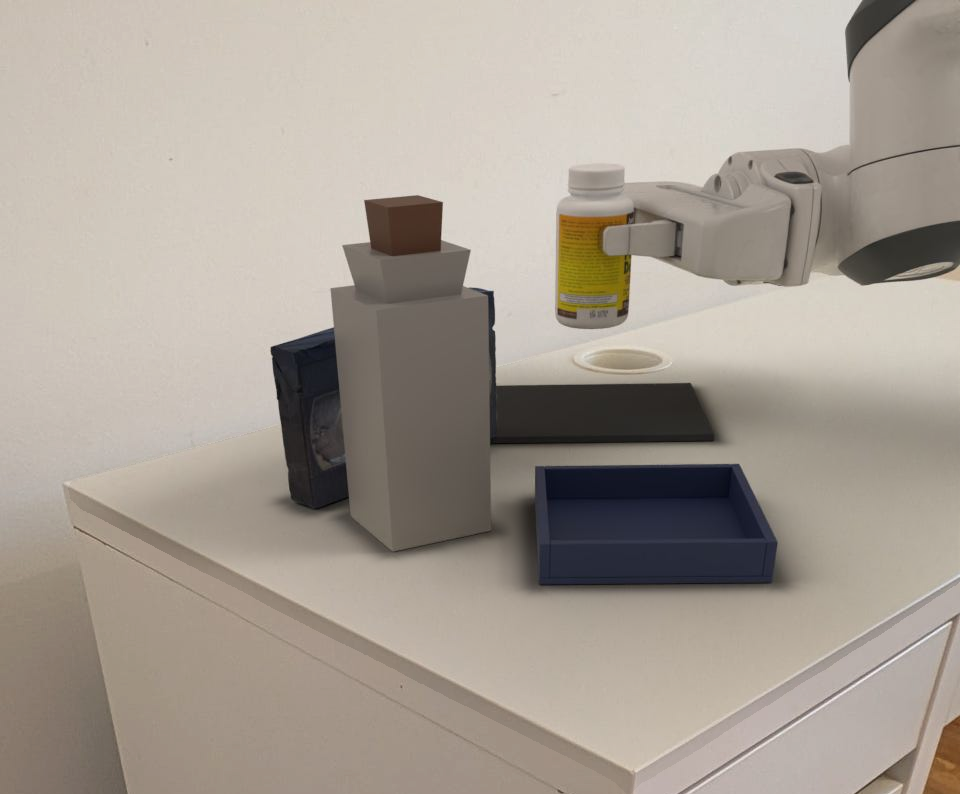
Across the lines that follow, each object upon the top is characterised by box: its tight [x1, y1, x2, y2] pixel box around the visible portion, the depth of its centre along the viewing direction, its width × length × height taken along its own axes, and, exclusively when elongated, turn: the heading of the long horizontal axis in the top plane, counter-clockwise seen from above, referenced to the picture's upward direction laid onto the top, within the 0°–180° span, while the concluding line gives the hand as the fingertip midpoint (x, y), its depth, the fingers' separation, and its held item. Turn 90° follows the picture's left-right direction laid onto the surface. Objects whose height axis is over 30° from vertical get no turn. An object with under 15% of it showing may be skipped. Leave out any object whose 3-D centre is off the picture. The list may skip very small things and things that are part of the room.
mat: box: [490, 382, 716, 444], centre depth 90 cm, size 18×14×1 cm
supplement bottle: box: [554, 162, 634, 330], centre depth 83 cm, size 6×6×10 cm
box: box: [534, 463, 779, 585], centre depth 69 cm, size 13×13×2 cm
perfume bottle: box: [330, 194, 492, 552], centre depth 67 cm, size 7×7×18 cm
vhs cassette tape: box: [270, 286, 497, 509], centre depth 77 cm, size 18×3×10 cm, turn 136°
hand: (583, 233), depth 83 cm, fingers closed on supplement bottle, 5 cm apart
